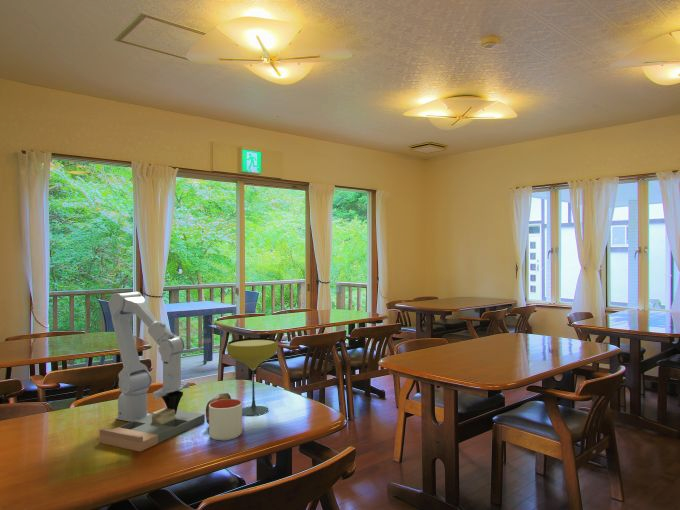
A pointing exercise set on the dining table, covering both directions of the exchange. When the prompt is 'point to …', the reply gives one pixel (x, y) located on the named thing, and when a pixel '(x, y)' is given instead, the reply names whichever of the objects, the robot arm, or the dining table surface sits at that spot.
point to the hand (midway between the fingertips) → (172, 414)
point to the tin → (219, 397)
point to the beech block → (163, 415)
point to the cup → (225, 419)
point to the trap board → (149, 431)
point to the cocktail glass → (252, 361)
